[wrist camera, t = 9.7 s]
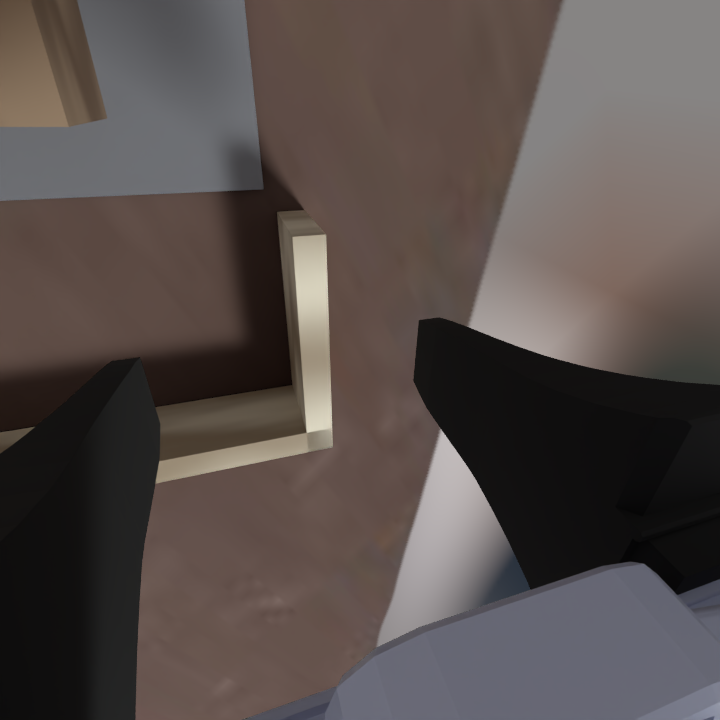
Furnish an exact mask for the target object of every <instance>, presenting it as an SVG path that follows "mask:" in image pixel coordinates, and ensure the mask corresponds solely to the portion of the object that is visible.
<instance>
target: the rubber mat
mask: <svg viewBox="0 0 720 720" xmlns="http://www.w3.org/2000/svg"><path fill="white" fill-rule="evenodd" d="M77 2H78V6H79V10H80V14H81V18H82V22H83V25H84V29H85V33H86V37H87V41H88V45H89V49H90V53H91V57H92V60H93V64H94V68H95V72H96V76H97V80H98V84H99V88H100V91H101V95H102V99H103V103H104V107H105V111H106V115H107V119H103V120H98V121H94V122H89V123H84V124H80V125H75V126H71V127H0V201H5V200H28V199H51V198H75V197H98V196H121V195H145V194H168V193H191V192H215V191H238V190H261V189H264V187H263V178H262V168H261V158H260V148H259V139H258V129H257V119H256V110H255V100H254V90H253V80H252V71H251V61H250V51H249V41H248V32H247V22H246V12H245V3H244V0H77Z"/></svg>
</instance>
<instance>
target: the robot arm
mask: <svg viewBox="0 0 720 720" xmlns="http://www.w3.org/2000/svg"><path fill="white" fill-rule="evenodd" d="M413 381H414V383H415V385H416V387H417V389H418V391H419V394H420V396H421V398H422V400H423V402H424V403H425V405H426V407H427V409H428V410H429V412H430V413H431V415H432V416H433V418H434V419H435V421H436V422H437V424H438V425H439V427H440V428H441V429H442V431H443V432H444V434H445V435H446V437H447V438H448V439H449V441H450V442H451V444H452V445H453V446H454V448H455V449H456V450H457V452H458V453H459V455H460V456H461V458H462V459H463V461H464V462H465V463H466V465H467V466H468V468H469V469H470V471H471V472H472V474H473V476H474V477H475V479H476V480H477V482H478V484H479V486H480V488H481V490H482V492H483V493H484V495H485V497H486V499H487V501H488V502H489V504H490V506H491V508H492V510H493V512H494V514H495V516H496V518H497V520H498V522H499V523H500V525H501V527H502V529H503V531H504V533H505V535H506V537H507V539H508V541H509V543H510V545H511V548H512V550H513V552H514V554H515V556H516V558H517V560H518V562H519V565H520V567H521V569H522V571H523V573H524V575H525V577H526V579H527V582H528V584H529V587H530V589H531V590H529V591H526V592H523V593H520V594H517V595H514V596H511V597H508V598H505V599H502V600H500V601H496V602H493V603H490V604H487V605H484V606H481V607H478V608H475V609H472V610H469V611H466V612H463V613H460V614H457V615H454V616H451V617H449V618H445V619H442V620H439V621H437V622H434V623H431V624H428V625H425V626H422V627H419V628H417V629H415V630H413V631H411V632H409V633H406V634H404V635H402V636H400V637H398V638H396V639H394V640H392V641H389V642H387V643H385V644H383V645H381V646H379V647H377V648H375V649H374V650H373V651H371V652H370V653H369V654H368V655H367V656H365V657H364V658H363V659H362V660H361V661H359V662H358V663H357V664H356V665H355V666H353V667H352V668H351V669H350V670H349V671H347V672H346V673H345V674H344V675H343V676H342V678H341V680H340V682H339V684H338V686H336V687H333V688H330V689H327V690H325V691H322V692H319V693H316V694H313V695H310V696H308V697H305V698H302V699H299V700H296V701H294V702H291V703H288V704H285V705H282V706H279V707H277V708H274V709H271V710H268V711H265V712H262V713H260V714H257V715H254V716H251V717H248V718H246V719H243V720H720V385H712V384H698V383H697V384H696V383H684V382H675V381H667V380H659V379H650V378H643V377H636V376H631V375H624V374H619V373H614V372H608V371H603V370H598V369H593V368H589V367H585V366H580V365H577V364H573V363H569V362H565V361H562V360H557V359H554V358H551V357H547V356H544V355H541V354H538V353H535V352H532V351H529V350H526V349H523V348H520V347H517V346H514V345H512V344H509V343H507V342H504V341H501V340H499V339H496V338H493V337H491V336H489V335H486V334H483V333H481V332H478V331H476V330H474V329H471V328H469V327H466V326H463V325H461V324H458V323H455V322H453V321H450V320H446V319H443V318H432V319H425V320H419V326H418V337H417V348H416V358H415V369H414V380H413ZM159 459H160V421H159V418H158V415H157V411H156V408H155V405H154V402H153V398H152V395H151V392H150V388H149V385H148V382H147V379H146V375H145V372H144V369H143V366H142V362H141V359H140V357H139V358H132V359H124V360H117V361H111V362H110V363H109V364H107V365H106V366H105V367H104V368H102V369H101V370H100V371H99V372H98V373H97V374H96V375H95V376H93V377H92V378H91V379H90V380H89V381H88V382H87V383H86V384H85V385H84V386H82V387H81V388H80V389H79V390H78V391H77V392H76V393H75V394H74V395H72V396H71V397H70V398H69V399H68V400H67V401H66V402H65V403H63V404H62V405H61V406H60V407H59V408H58V409H57V410H55V411H54V412H53V413H52V414H50V415H49V416H48V417H47V418H45V419H44V420H43V421H42V422H41V423H39V424H38V425H37V426H36V427H34V428H33V429H32V430H31V431H29V432H28V433H27V434H26V435H24V436H23V437H22V438H21V439H19V440H18V441H17V442H15V443H14V444H13V445H11V446H10V447H9V448H7V449H6V450H4V451H3V452H2V453H0V720H135V705H136V670H137V641H138V620H139V600H140V585H141V570H142V558H143V551H144V543H145V537H146V532H147V526H148V521H149V515H150V510H151V505H152V499H153V494H154V488H155V483H156V477H157V471H158V466H159Z"/></svg>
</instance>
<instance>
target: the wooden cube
mask: <svg viewBox="0 0 720 720" xmlns="http://www.w3.org/2000/svg"><path fill="white" fill-rule="evenodd" d="M103 119H107V115H106V111H105V107H104V103H103V99H102V95H101V91H100V88H99V84H98V80H97V76H96V72H95V68H94V64H93V60H92V57H91V53H90V49H89V45H88V41H87V37H86V33H85V29H84V25H83V22H82V18H81V14H80V10H79V6H78V2H77V0H0V127H71V126H75V125H80V124H84V123H89V122H94V121H98V120H103Z"/></svg>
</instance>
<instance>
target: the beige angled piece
mask: <svg viewBox="0 0 720 720" xmlns="http://www.w3.org/2000/svg"><path fill="white" fill-rule="evenodd" d="M277 219H278V230H279V241H280V252H281V263H282V274H283V286H284V297H285V308H286V319H287V330H288V341H289V352H290V363H291V375H292V385H289V386H283V387H277V388H271V389H265V390H258V391H252V392H246V393H240V394H234V395H228V396H221V397H215V398H209V399H203V400H197V401H191V402H184V403H178V404H172V405H166V406H160V407H155V408H156V411H157V415H158V418H159V421H160V459H159V466H158V471H157V477H156V483H160V482H165V481H169V480H174V479H179V478H184V477H189V476H194V475H199V474H204V473H208V472H213V471H218V470H223V469H228V468H233V467H238V466H243V465H247V464H252V463H257V462H262V461H267V460H272V459H277V458H282V457H287V456H291V455H296V454H301V453H306V452H311V451H316V450H321V449H326V448H330V447H333V441H332V409H331V378H330V347H329V315H328V284H327V253H326V234H325V233H324V232H323V231H322V229H321V228H320V227H319V226H318V225H317V224H316V223H315V221H314V220H313V219H312V218H311V217H310V216H309V214H308V213H307V212H306V211H305V210H299V211H281V212H277ZM33 428H34V427H30V428H24V429H18V430H12V431H6V432H0V453H2V452H3V451H4V450H6V449H7V448H9V447H10V446H11V445H13V444H14V443H15V442H17V441H18V440H19V439H21V438H22V437H23V436H24V435H26V434H27V433H28V432H29V431H31V430H32V429H33Z"/></svg>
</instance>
